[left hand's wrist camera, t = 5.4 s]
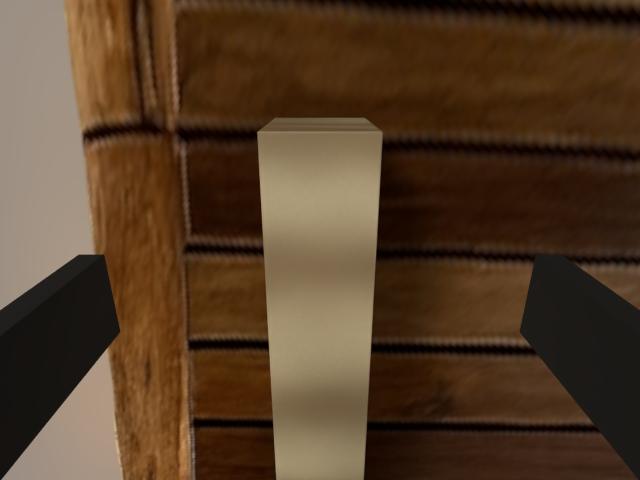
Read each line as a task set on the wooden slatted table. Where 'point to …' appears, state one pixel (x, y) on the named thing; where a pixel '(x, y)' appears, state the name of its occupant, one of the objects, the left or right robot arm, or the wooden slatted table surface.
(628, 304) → the left robot arm
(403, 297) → the wooden slatted table surface
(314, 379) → the birch beam
